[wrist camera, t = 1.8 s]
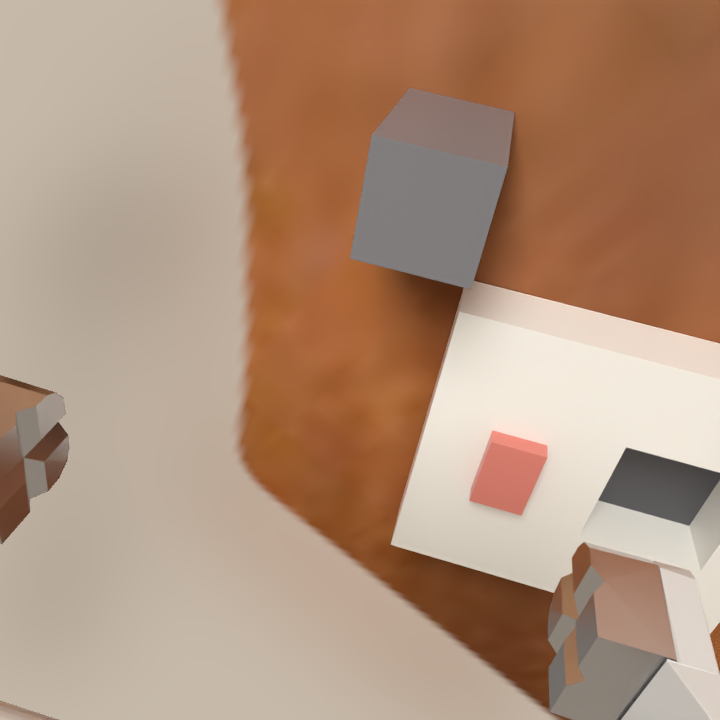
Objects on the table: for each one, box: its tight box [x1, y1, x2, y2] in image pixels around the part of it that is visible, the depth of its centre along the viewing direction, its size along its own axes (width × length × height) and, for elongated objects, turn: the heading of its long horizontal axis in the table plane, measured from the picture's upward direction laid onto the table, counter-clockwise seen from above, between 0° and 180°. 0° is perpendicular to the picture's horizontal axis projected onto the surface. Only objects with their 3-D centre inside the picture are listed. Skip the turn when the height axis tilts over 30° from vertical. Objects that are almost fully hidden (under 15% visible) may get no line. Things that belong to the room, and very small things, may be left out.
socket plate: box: [391, 281, 720, 634], centre depth 30 cm, size 16×14×4 cm
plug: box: [350, 88, 515, 289], centre depth 23 cm, size 4×4×7 cm
